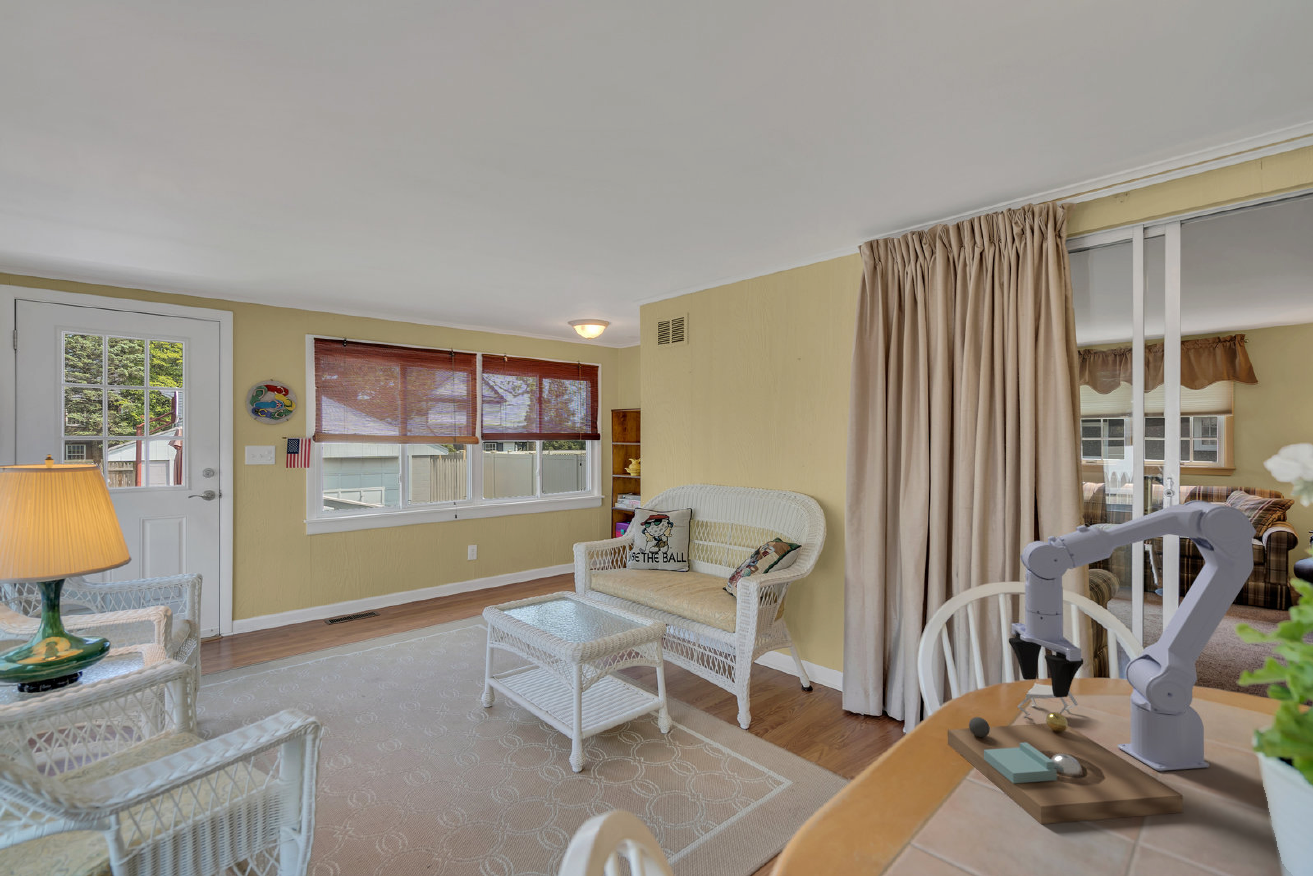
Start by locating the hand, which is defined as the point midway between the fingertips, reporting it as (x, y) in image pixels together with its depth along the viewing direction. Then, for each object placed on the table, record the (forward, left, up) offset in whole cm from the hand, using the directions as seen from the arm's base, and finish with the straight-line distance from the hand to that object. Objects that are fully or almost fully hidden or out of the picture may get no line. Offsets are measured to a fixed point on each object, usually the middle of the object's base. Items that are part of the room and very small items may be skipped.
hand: (1044, 687), depth 110 cm
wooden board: (+6, +10, -10) cm, 15 cm away
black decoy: (+13, +1, -6) cm, 14 cm away
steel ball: (+6, +12, -8) cm, 15 cm away
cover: (+14, +12, -7) cm, 20 cm away
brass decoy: (-1, +1, -6) cm, 6 cm away
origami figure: (-8, -11, -10) cm, 17 cm away
